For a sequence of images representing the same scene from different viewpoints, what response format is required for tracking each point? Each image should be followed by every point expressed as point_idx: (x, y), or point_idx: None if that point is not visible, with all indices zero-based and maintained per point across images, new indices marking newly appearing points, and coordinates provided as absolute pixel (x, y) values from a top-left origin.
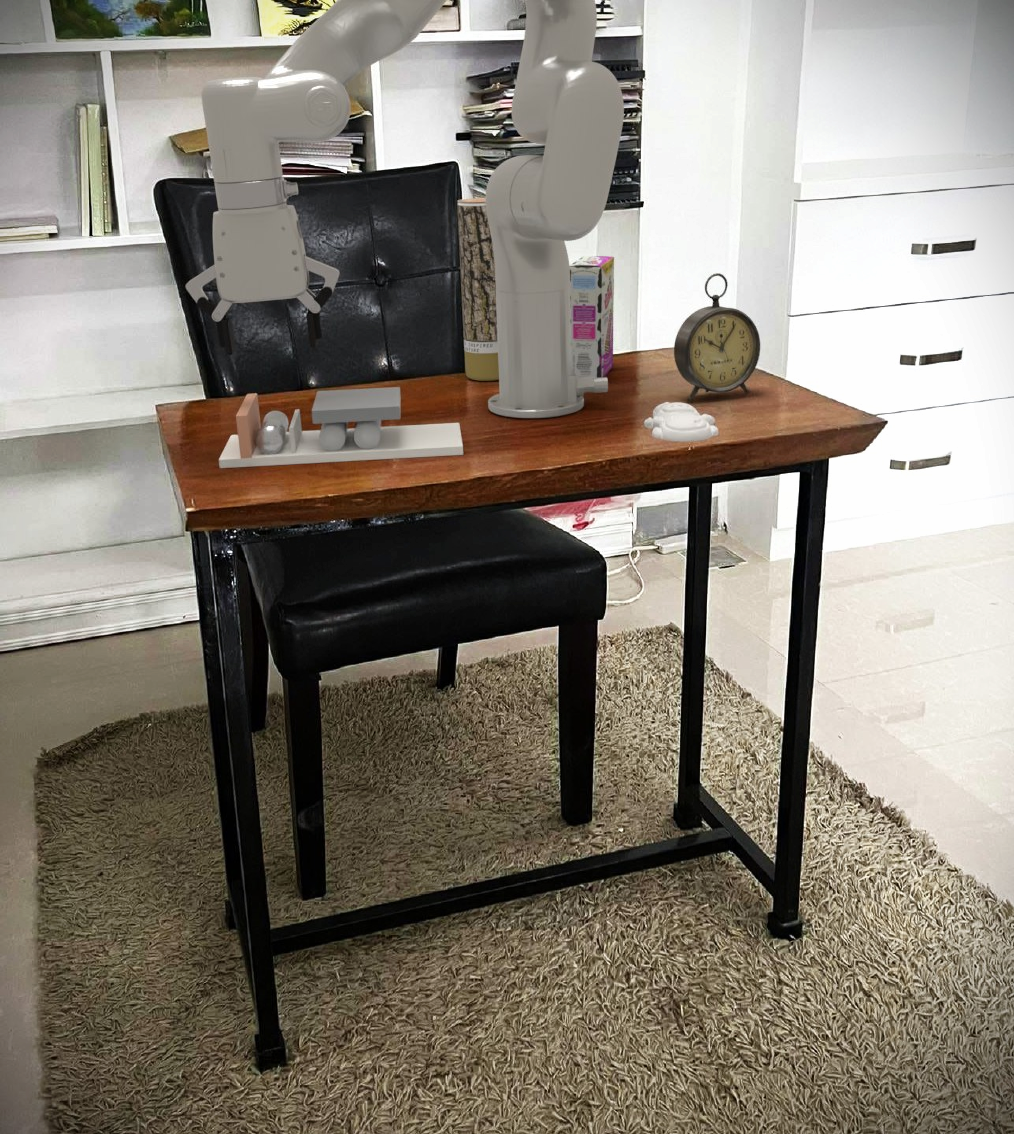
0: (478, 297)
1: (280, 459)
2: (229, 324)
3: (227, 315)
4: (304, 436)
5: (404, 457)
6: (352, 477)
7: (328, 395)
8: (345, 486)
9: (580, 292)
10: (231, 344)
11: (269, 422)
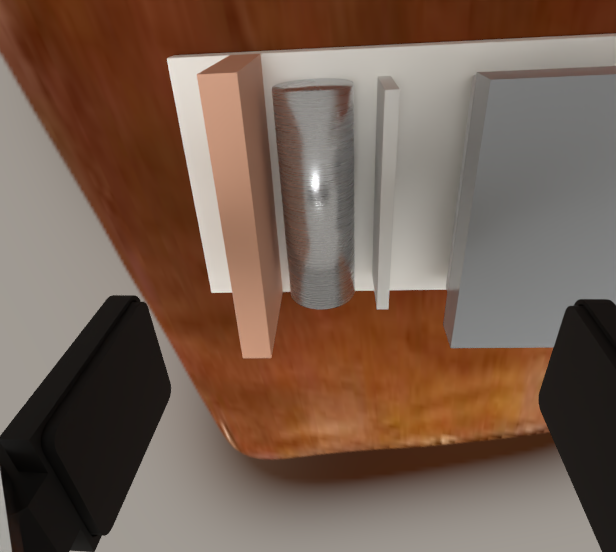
0: None
1: None
2: (100, 483)
3: (46, 504)
4: (399, 119)
5: None
6: (491, 371)
7: (526, 166)
8: (472, 409)
9: None
10: (154, 421)
11: (315, 242)
